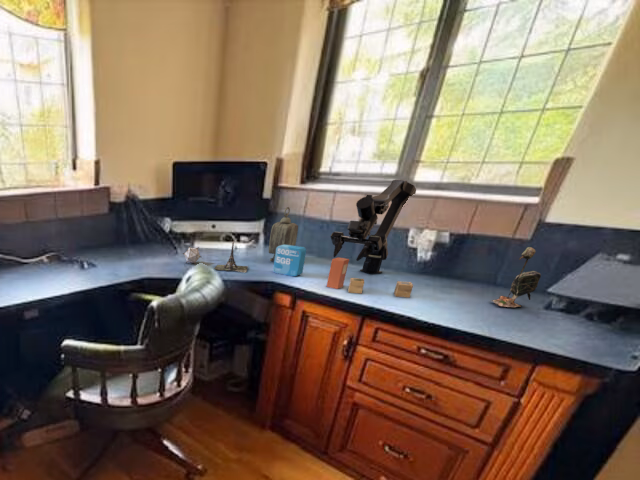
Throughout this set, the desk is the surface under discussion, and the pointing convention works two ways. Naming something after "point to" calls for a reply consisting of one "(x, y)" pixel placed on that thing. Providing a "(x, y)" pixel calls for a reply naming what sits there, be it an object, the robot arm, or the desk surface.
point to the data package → (289, 260)
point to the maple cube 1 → (356, 285)
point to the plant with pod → (521, 283)
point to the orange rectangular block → (337, 272)
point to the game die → (192, 255)
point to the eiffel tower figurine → (232, 264)
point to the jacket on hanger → (282, 234)
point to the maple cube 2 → (403, 289)
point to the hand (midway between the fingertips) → (345, 258)
